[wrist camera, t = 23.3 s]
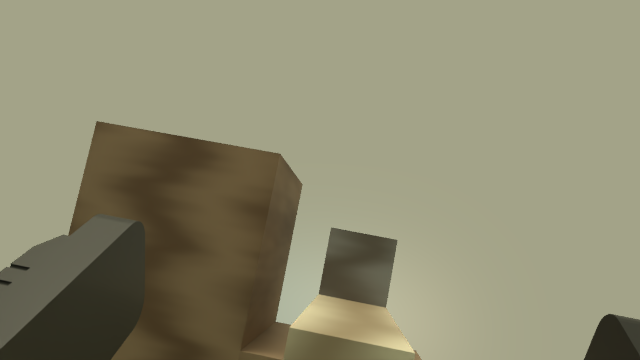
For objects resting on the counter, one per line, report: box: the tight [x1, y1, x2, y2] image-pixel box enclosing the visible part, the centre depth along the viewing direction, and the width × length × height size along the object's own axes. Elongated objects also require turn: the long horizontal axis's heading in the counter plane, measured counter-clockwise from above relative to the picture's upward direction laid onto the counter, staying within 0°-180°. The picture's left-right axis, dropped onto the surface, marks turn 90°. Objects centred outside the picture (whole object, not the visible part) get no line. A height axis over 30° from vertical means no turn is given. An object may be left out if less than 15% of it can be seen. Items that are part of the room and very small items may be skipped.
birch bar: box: [283, 228, 415, 360], centre depth 27 cm, size 4×20×7 cm, turn 176°
